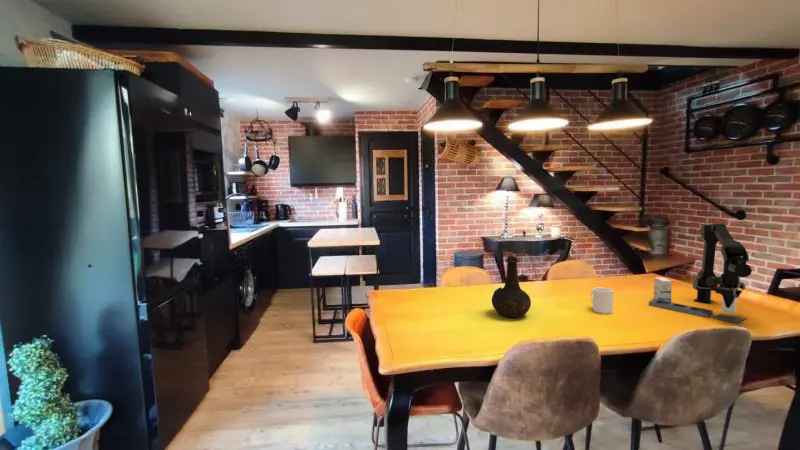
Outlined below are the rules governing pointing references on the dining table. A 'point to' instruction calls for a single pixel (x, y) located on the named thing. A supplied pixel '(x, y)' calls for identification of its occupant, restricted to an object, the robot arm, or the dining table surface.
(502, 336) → the dining table surface
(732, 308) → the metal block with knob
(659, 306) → the grey metal frame
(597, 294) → the mug
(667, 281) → the ink box
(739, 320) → the mat
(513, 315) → the glass bottle
